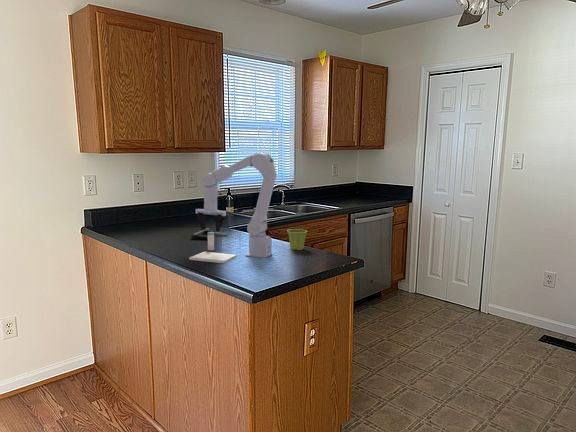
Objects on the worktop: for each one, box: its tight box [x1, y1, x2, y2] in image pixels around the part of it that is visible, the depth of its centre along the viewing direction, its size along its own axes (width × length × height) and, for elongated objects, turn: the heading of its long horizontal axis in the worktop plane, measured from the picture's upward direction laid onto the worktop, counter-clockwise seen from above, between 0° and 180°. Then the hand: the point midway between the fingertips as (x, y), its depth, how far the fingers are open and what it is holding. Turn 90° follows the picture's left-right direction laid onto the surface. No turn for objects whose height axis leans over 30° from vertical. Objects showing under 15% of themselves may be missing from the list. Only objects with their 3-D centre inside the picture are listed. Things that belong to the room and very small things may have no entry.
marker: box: [207, 232, 215, 253], centre depth 191 cm, size 3×3×9 cm
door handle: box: [190, 227, 229, 241], centre depth 225 cm, size 3×20×16 cm
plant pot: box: [286, 228, 308, 251], centre depth 198 cm, size 9×9×9 cm
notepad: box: [188, 251, 238, 264], centre depth 180 cm, size 16×12×1 cm
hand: (210, 230), depth 190 cm, fingers open, 7 cm apart
